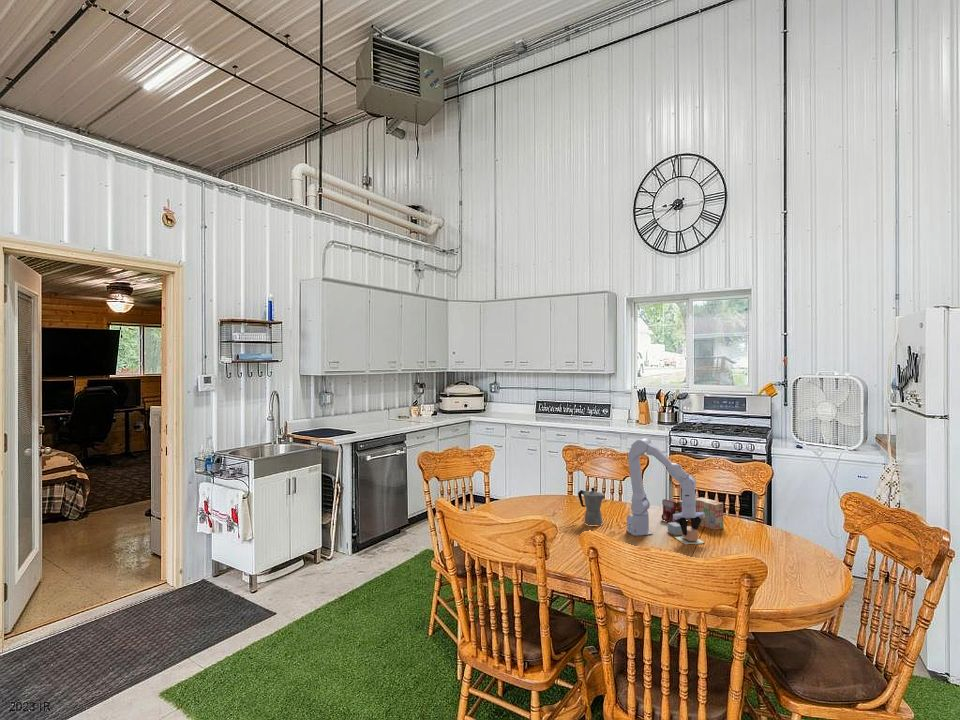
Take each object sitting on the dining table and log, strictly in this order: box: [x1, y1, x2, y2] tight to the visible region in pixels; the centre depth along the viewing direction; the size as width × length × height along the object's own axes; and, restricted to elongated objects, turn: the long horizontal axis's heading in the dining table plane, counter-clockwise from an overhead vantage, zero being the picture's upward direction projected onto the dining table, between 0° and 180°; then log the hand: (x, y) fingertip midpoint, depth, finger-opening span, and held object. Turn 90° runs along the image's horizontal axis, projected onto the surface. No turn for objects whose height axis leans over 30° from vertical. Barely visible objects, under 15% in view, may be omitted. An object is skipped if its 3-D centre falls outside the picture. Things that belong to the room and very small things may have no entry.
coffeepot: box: [577, 487, 606, 525], centre depth 251 cm, size 15×9×18 cm, turn 44°
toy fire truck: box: [661, 498, 686, 524], centre depth 252 cm, size 7×12×10 cm, turn 34°
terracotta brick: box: [681, 525, 699, 541], centre depth 224 cm, size 4×6×4 cm, turn 10°
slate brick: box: [667, 521, 682, 536], centre depth 235 cm, size 4×6×4 cm, turn 11°
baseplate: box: [674, 536, 706, 546], centre depth 224 cm, size 9×9×1 cm
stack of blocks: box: [677, 496, 724, 531], centre depth 250 cm, size 21×6×12 cm, turn 29°
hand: (689, 534), depth 224 cm, fingers closed on terracotta brick, 4 cm apart
